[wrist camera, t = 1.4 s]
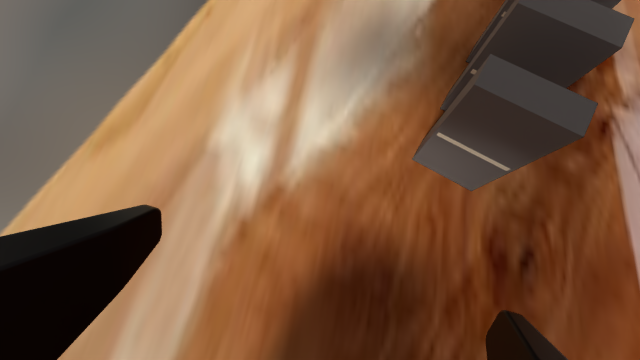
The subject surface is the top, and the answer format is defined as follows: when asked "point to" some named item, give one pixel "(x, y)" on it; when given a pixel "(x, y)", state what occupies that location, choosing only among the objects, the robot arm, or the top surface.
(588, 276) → the top surface
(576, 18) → the domino
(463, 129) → the domino
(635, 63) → the top surface
